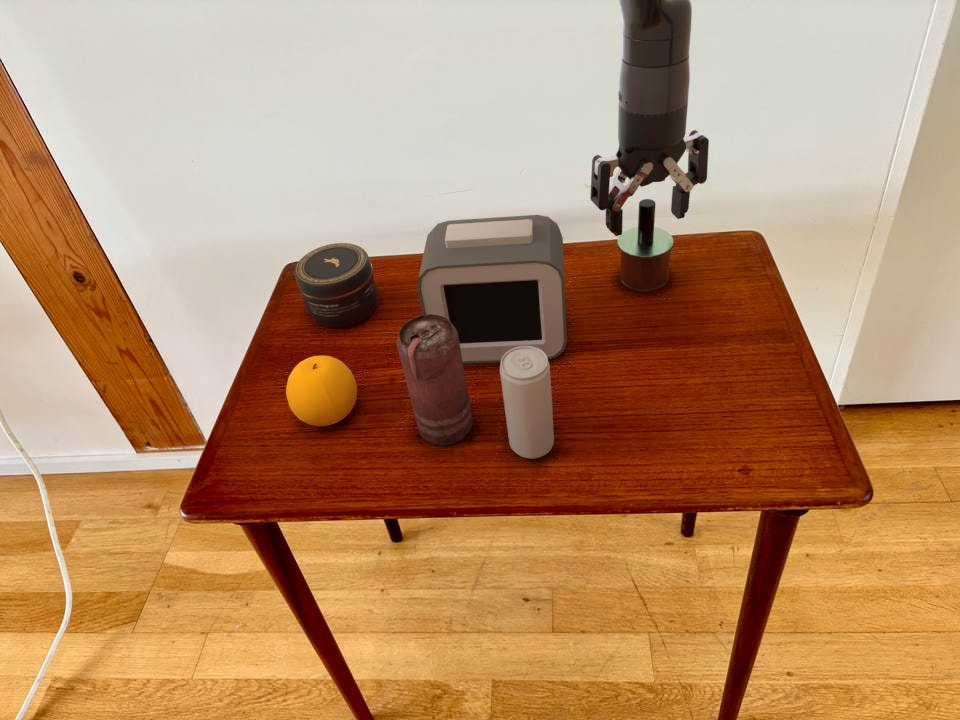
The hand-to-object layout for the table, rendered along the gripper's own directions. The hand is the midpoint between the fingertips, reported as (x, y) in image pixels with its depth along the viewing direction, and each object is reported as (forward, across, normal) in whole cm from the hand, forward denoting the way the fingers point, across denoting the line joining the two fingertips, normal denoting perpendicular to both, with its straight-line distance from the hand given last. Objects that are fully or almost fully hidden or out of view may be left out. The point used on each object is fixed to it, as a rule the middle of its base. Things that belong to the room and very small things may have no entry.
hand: (647, 224), depth 89 cm
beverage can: (+9, -24, -21) cm, 33 cm away
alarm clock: (+8, -21, -2) cm, 23 cm away
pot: (+8, 0, 0) cm, 8 cm away
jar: (+8, -39, +12) cm, 42 cm away
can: (+9, -32, -15) cm, 37 cm away
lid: (+3, 0, 0) cm, 3 cm away
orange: (+8, -44, -7) cm, 45 cm away
